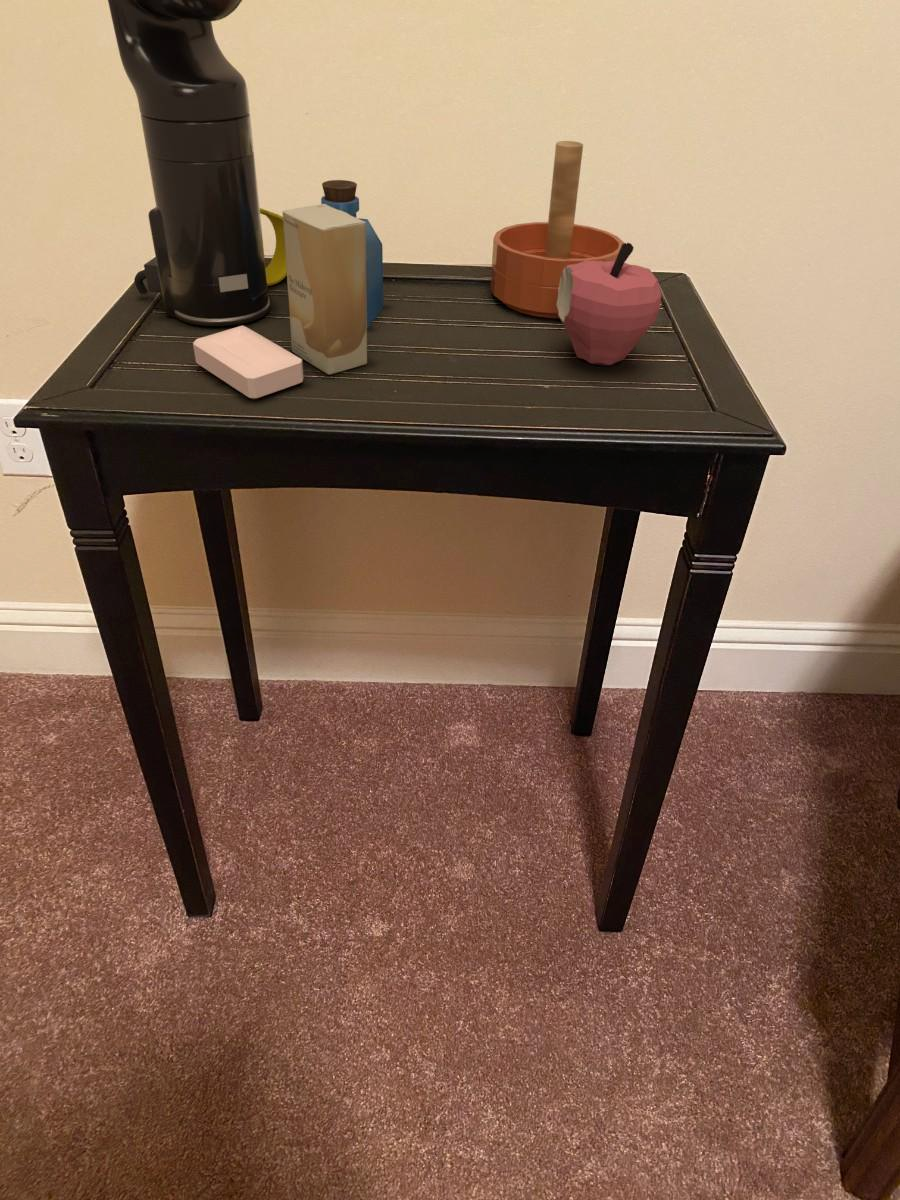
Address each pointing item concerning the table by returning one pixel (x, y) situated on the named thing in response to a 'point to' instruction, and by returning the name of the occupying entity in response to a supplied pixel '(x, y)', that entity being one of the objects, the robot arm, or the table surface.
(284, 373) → the soap bar
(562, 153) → the stick
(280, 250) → the bracelet
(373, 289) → the blue potion bottle
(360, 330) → the cosmetic box
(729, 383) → the table surface
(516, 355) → the table surface
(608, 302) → the apple
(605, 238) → the bowl
